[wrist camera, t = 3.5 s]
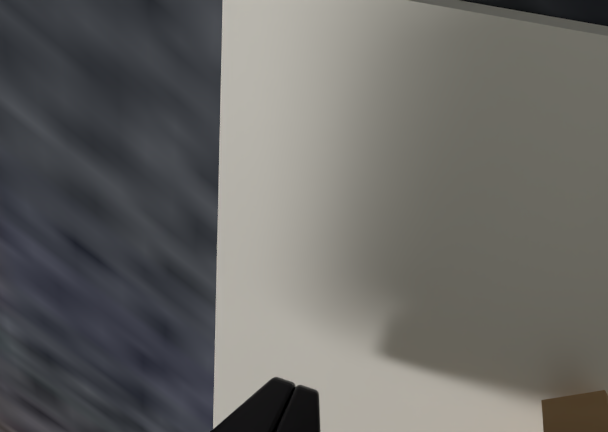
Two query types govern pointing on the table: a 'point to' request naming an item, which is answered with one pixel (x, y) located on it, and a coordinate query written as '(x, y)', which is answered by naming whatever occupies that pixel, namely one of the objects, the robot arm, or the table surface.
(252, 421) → the robot arm
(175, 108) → the table surface
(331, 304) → the card
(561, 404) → the hinged fence panel
